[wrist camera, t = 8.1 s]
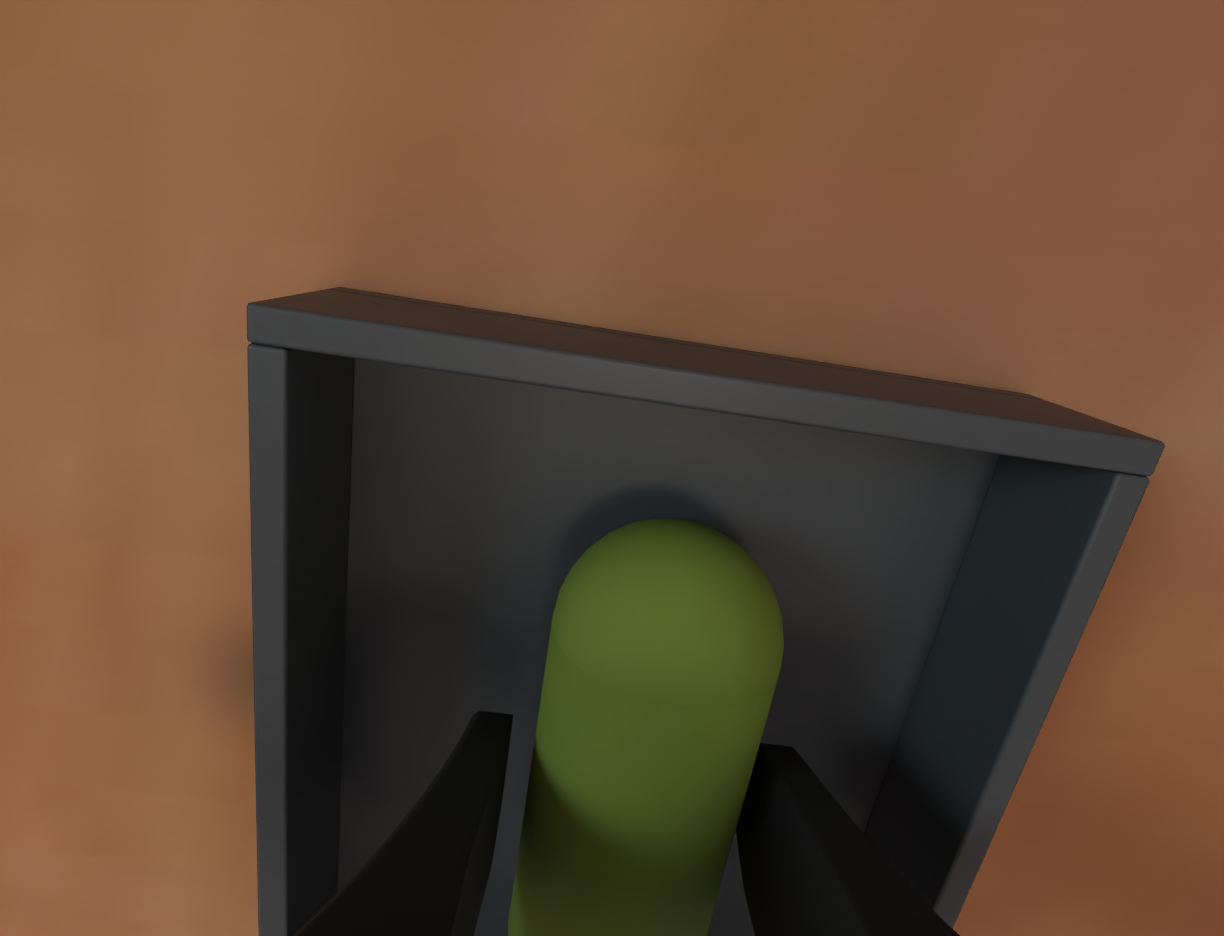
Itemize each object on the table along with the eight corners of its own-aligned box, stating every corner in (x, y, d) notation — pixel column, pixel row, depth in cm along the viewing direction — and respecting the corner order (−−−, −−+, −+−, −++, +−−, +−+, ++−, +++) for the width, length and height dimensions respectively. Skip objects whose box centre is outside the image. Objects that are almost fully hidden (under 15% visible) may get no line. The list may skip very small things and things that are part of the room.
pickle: (667, 908, 15) (697, 1107, 12) (506, 900, 15) (488, 1102, 11) (768, 497, 12) (850, 604, 8) (567, 472, 11) (567, 572, 8)
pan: (815, 983, 16) (861, 1139, 14) (322, 939, 16) (259, 1095, 13) (1030, 394, 12) (1169, 443, 9) (337, 286, 11) (243, 301, 8)
